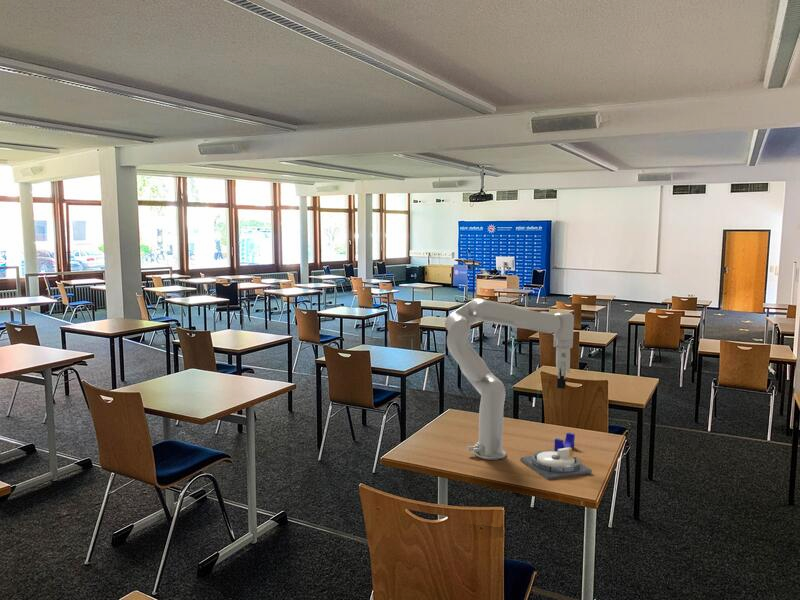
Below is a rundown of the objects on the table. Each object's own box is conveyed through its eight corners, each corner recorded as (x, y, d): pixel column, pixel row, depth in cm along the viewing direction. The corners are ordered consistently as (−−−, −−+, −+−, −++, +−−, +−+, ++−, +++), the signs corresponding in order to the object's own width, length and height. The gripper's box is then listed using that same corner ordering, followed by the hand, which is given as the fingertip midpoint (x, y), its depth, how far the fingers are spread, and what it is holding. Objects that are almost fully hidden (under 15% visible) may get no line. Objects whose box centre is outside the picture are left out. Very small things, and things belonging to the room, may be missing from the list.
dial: (553, 471, 214) (553, 459, 213) (529, 458, 227) (529, 446, 226) (582, 466, 220) (583, 453, 219) (557, 453, 233) (558, 442, 232)
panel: (547, 479, 211) (547, 470, 211) (520, 460, 229) (520, 452, 229) (591, 473, 218) (592, 464, 217) (562, 455, 235) (562, 447, 235)
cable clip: (564, 456, 236) (565, 441, 235) (554, 453, 239) (554, 439, 238) (577, 448, 245) (578, 435, 244) (567, 446, 248) (568, 432, 247)
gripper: (574, 346, 226) (572, 393, 228) (571, 340, 241) (569, 384, 243) (554, 345, 228) (552, 391, 230) (552, 339, 242) (550, 383, 244)
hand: (561, 387), depth 236 cm, fingers closed
